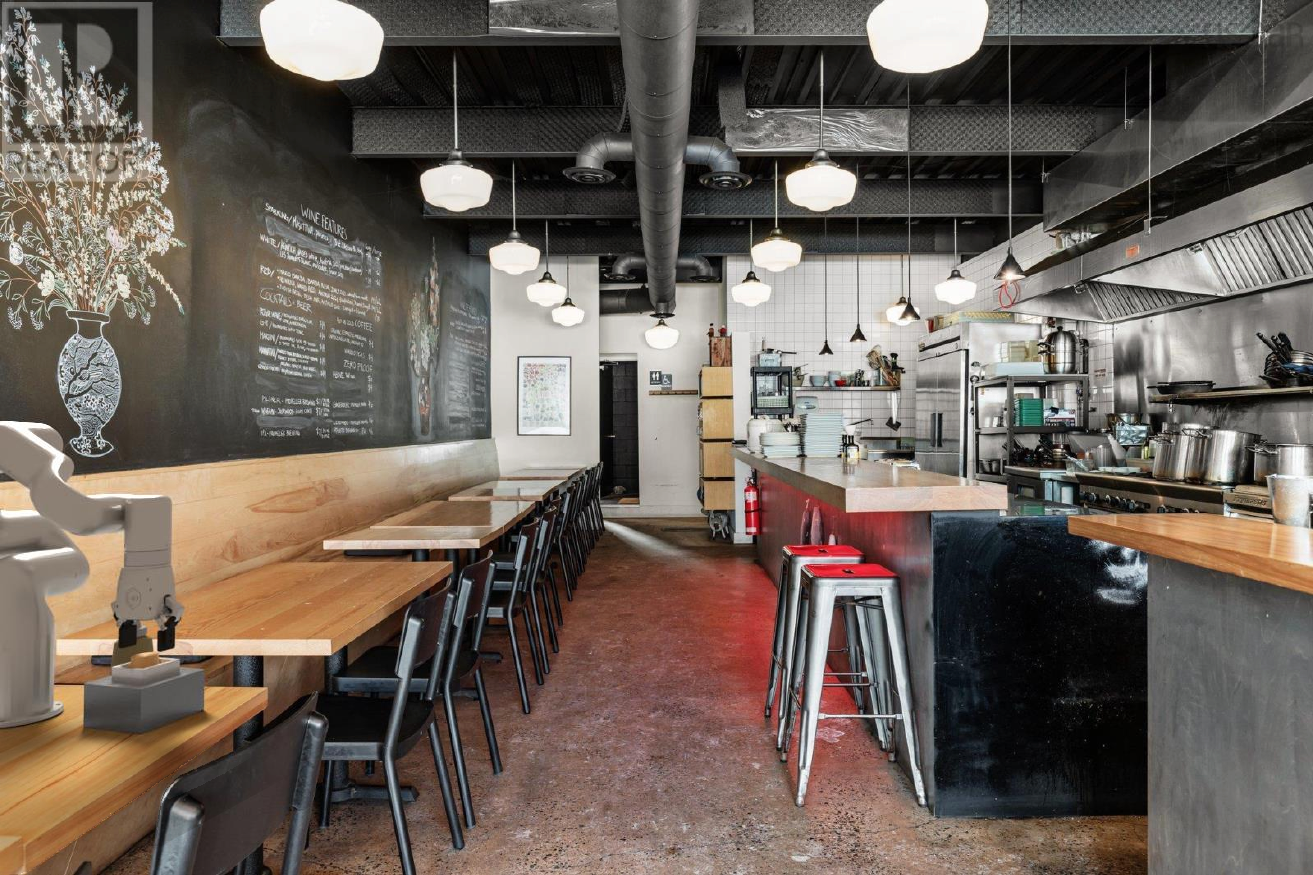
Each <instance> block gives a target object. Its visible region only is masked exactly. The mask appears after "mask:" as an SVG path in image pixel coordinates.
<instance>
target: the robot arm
mask: <svg viewBox="0 0 1313 875" xmlns="http://www.w3.org/2000/svg"><path fill="white" fill-rule="evenodd" d="M63 451H64V441H63V438H62V436H61V434H60V433H59V432H58V431H57V430H56V429H54V428H53V427H51V426H50V425H47V424H44V423H36V422H23V421H22V422H19V421H0V474H3V473H4V474H6V475H7V476H9V477H10V478H11V479H13V480H15V481H16V482H18V483H19V484H21V485H22V486H24V487H25V488H27V489H28V490H29V496H30V500H31V502H32V505H33V507H34V509H35V510H11V511H10V510H3V509H1V508H0V729H3V728H12V727H19V726H24V725H28V724H34V723H36V722H37V723H38V722H41V721H44V720H47V719H49V718H53V717H55V716H57V715H59V714H60V713H62V712H63V711H64V706H65V705H64V703H63V702H61V701H60V700H59V701H58V700H54V698H55V697H54V696H55V695H54V694H55V655H56V654H55V650H56V649H55V648H56V647H55V644H56V640H55V639H56V625H55V624H56V620H55V617H54V614H53V612H52V610H51V608H50V606H49V605H48V603H47V601H46V599H48V598H51V597H58V596H61V595H65V594H68V593H69V594H70V593H72V592H75V591H77V590H79V589H81V588H82V587H83V586H84V585H85V584H86V583H87V582H88V579H89V577H90V574H91V573H90V572H91V568H90V563H89V561H88V558H87V556H86V555H85V554H84V552H83V551H82V550H81V549H80V547H78V546H77V544H76V543H75V542H74V540H72V538H70V536H69V535H68V534H71V535H73V536H74V535H75V536H78V537H79V536H80V537H88V536H89V537H90V536H97V535H104V534H115V533H116V534H117V533H123V534H124V536H123V566H122V567H121V568H120V572H119V576H118V581H117V587H116V597H115V600H114V601H112V602H111V603H110V607H111V611H112V613H113V614H112V616H113V619H114V620H115V621H116V622H115V624H116V625H115V626H116V627H117V628H118V638H117V640H118V647H119V648H121V649H122V648H126V647H130V646H134V645H136V644H137V624H134V623H135V621H136V620H137V621H140V622H151V621H155V623H156V625H157V627H159V630H157V632H156V639H157V640H156V650H157V651H156V652H158V653H162V652H166V651H169V650H174V649H175V647H176V628H178V626H179V623H180V622H181V621H182V617H183V614H184V611H185V609H186V608H185V605H183V604H182V603H180V602H179V601H178V600H177V599H176V585H175V584H176V583H175V575H174V568H173V566H172V545H173V544H172V540H173V539H172V538H173V534H172V533H173V532H172V530H173V502H172V499H171V498H170V497H169V496H167V495H163V494H145V495H144V494H143V495H142V494H141V495H135V494H130V493H129V494H127V493H115V494H114V493H113V494H112V493H111V494H110V493H109V494H94V495H93V494H92V495H91V494H90V495H86V494H83V493H82V492H80V491H78V490H77V489H76V488H74V487H72V486H71V485H69V484H68V483H67V482H68V481H69V480H70V478H71V477H72V475H73V472H74V470H75V465H74V464H75V463H74V462H73V460H72V458H71V457H69V456H68V455H66V454H65V453H64V452H63ZM67 533H68V534H67ZM165 619H166V620H165ZM133 624H134V625H133Z"/></svg>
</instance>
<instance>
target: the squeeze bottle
mask: <svg viewBox="0 0 1313 875" xmlns="http://www.w3.org/2000/svg"><path fill="white" fill-rule="evenodd" d="M134 624H137V644H136V645H134V646H130V647H126V648H122V649H121V648H119V647H118V639H117V640H116V641H115V642H113V649H112V656H111V663H110V671H109V676H112V667H114V666H118V665H121V664H125V663H129V662H131V656H133V655H136V654H140V653H147V652H155V651H154V642H153V638H152V637H151V636H149V635H147V634H148V626H146V625H142V624H141V621H137V620H136V621H135V623H134ZM134 624H133V625H134Z"/></svg>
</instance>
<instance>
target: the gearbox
mask: <svg viewBox="0 0 1313 875" xmlns="http://www.w3.org/2000/svg"><path fill="white" fill-rule="evenodd" d="M180 662H181V659H180V658H171V657H160V656H159V664H157V665H154V666H150V667H147V668H143V669H142V668H132V667H131V662H129V663H125V664H121V665H118V666H114V667H112V676H110V675H109V676H105V677H102V678H99V679H98V678H97V679H94V680H92V681H91V680H90V681H88V682H83V683H84V684H83V718H82V719H83V720H82V722H83V728H90V729H98V730H105V731H111V732H120V733H127V734H135V735H136V734H137V735H142V734H145V733H147V732H150V731H152V730H156V729H158V728H161V727H164V726H166V725H168V724H171V723H174V722H177V721H179V720H182V719H184V718H187V717H191V716H193V715H195V714H197V712H198V713H200V712H202V711H201V710H203V711H205V676H206V674H205V669H202V668H195V667H183V666H182V667H181V665H180ZM199 711H200V712H199ZM192 714H193V715H192Z"/></svg>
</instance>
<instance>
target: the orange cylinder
mask: <svg viewBox="0 0 1313 875" xmlns="http://www.w3.org/2000/svg"><path fill="white" fill-rule="evenodd" d="M159 657H160V652H158V651H154V652H147V653H140V654H136V655H133V656H131V667H132V668H142V669H143V668H147V667H150V666H154V665H157V664H159Z"/></svg>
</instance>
